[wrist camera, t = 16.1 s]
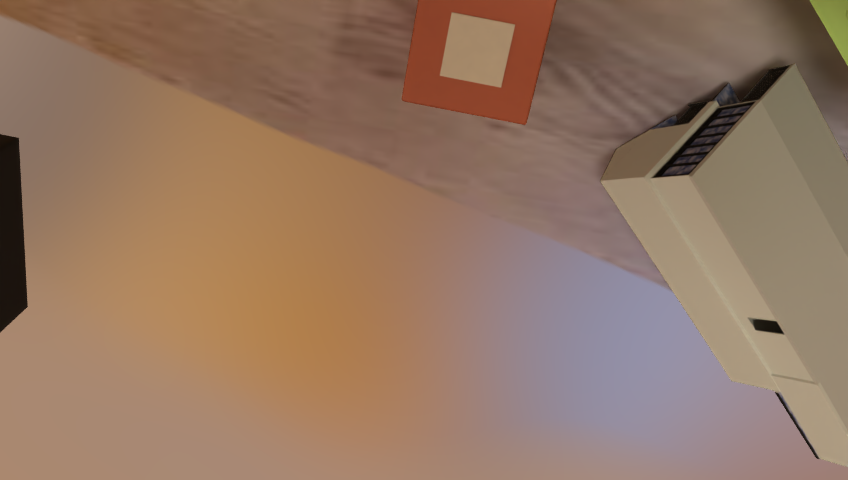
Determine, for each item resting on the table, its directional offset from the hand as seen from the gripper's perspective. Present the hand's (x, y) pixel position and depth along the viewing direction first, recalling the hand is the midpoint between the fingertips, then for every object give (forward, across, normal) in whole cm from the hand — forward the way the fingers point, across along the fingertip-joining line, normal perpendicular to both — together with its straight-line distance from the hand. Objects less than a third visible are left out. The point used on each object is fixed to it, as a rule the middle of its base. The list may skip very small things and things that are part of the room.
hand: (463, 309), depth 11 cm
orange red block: (+27, 0, 0) cm, 27 cm away
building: (+21, +17, -8) cm, 29 cm away
